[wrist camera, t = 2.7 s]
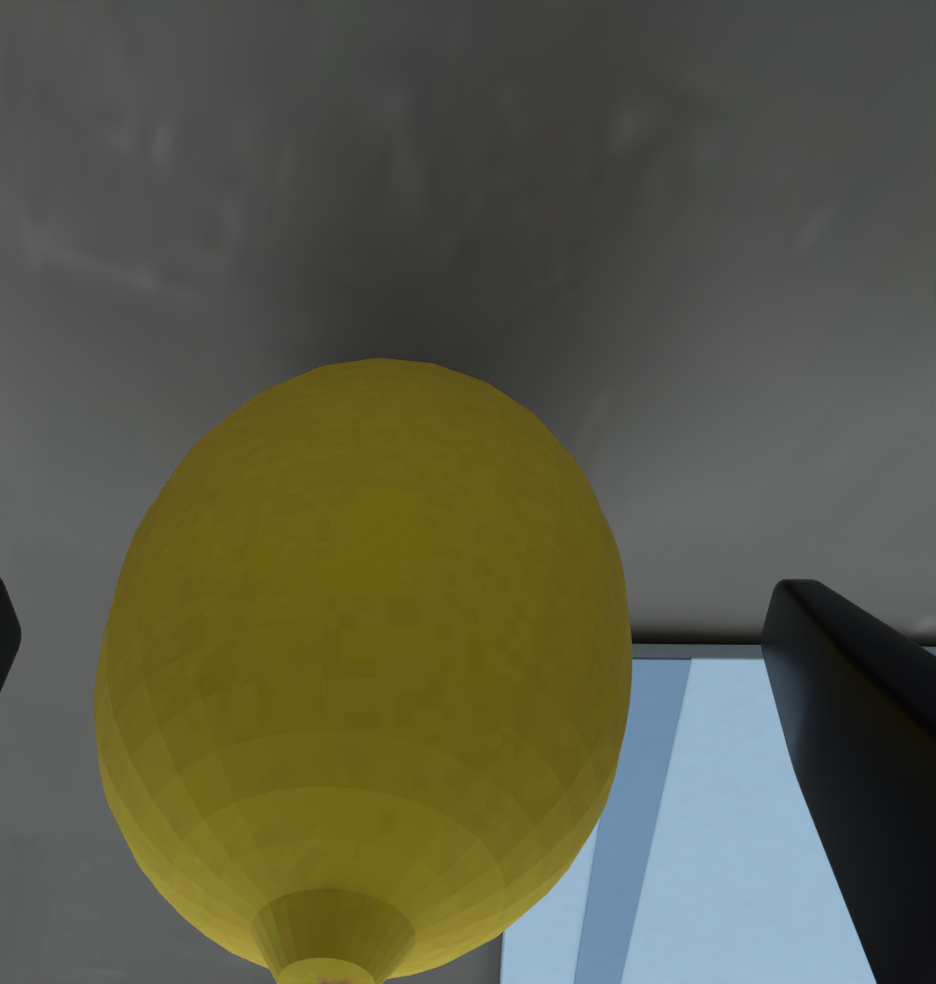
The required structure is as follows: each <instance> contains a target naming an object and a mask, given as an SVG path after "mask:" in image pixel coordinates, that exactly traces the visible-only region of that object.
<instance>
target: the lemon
mask: <svg viewBox="0 0 936 984" xmlns="http://www.w3.org/2000/svg"><path fill="white" fill-rule="evenodd" d="M631 684H632V639H631V629H630V620H629V612H628V604H627V596H626V589H625V581H624V574H623V569H622V564H621V559H620V554H619V551H618V548H617V545H616V542H615V539H614V536H613V533H612V531H611V529H610V527H609V525H608V523H607V520H606V518H605V516H604V514H603V512H602V510H601V508H600V506H599V503H598V501H597V499H596V497H595V495H594V493H593V491H592V489H591V486H590V484H589V482H588V480H587V478H586V476H585V474H584V472H583V470H582V469H581V468H580V466H579V465H578V463H577V462H576V461H575V459H574V458H573V457H572V456H571V454H570V453H569V452H568V451H567V450H566V449H565V448H564V446H563V445H562V444H561V443H560V442H559V441H558V440H557V438H556V437H555V436H554V435H553V434H552V433H551V432H550V431H549V429H548V428H547V427H546V426H545V425H544V424H543V423H542V421H541V420H540V419H539V418H538V417H537V416H536V415H534V414H533V413H532V412H531V411H530V410H528V409H527V408H525V407H524V406H522V405H521V404H519V403H518V402H516V401H515V400H513V399H512V398H510V397H509V396H507V395H506V394H504V393H502V392H501V391H499V390H498V389H496V388H495V387H493V386H492V385H490V384H489V383H487V382H485V381H482V380H479V379H476V378H474V377H471V376H468V375H465V374H462V373H459V372H457V371H454V370H451V369H448V368H445V367H442V366H440V365H437V364H434V363H424V362H415V361H406V360H397V359H388V358H372V359H365V360H358V361H351V362H343V363H336V364H329V365H323V366H321V367H318V368H316V369H313V370H311V371H308V372H306V373H303V374H301V375H298V376H296V377H294V378H291V379H289V380H286V381H284V382H281V383H279V384H276V385H274V386H272V387H270V388H267V389H265V390H263V391H261V392H260V393H259V394H257V395H256V396H254V397H253V398H252V399H250V400H249V401H248V402H246V403H245V404H244V405H243V406H241V407H240V408H239V409H237V410H236V411H235V412H234V413H232V414H231V415H230V416H228V417H227V418H226V419H224V420H223V421H222V422H221V423H219V424H218V425H217V426H215V427H214V428H213V429H211V430H210V431H209V432H208V433H206V434H205V435H204V436H203V437H202V438H201V439H200V440H199V441H198V442H197V443H196V444H195V445H194V446H193V447H192V448H191V450H190V451H189V452H188V454H187V455H186V456H185V458H184V459H183V460H182V462H181V463H180V464H179V466H178V467H177V469H176V470H175V472H174V473H173V474H172V476H171V477H170V479H169V480H168V482H167V483H166V485H165V486H164V488H163V489H162V491H161V492H160V493H159V495H158V496H157V498H156V499H155V501H154V502H153V504H152V505H151V507H150V508H149V509H148V511H147V513H146V515H145V517H144V518H143V520H142V522H141V524H140V525H139V527H138V529H137V531H136V533H135V535H134V538H133V540H132V542H131V545H130V547H129V549H128V552H127V554H126V557H125V560H124V564H123V567H122V570H121V573H120V576H119V579H118V583H117V587H116V590H115V594H114V598H113V602H112V606H111V609H110V613H109V617H108V621H107V625H106V628H105V632H104V637H103V641H102V646H101V650H100V654H99V659H98V666H97V673H96V681H95V688H94V720H95V733H96V742H97V751H98V760H99V768H100V773H101V778H102V782H103V787H104V791H105V796H106V800H107V803H108V805H109V807H110V809H111V811H112V813H113V815H114V817H115V819H116V821H117V823H118V825H119V827H120V829H121V832H122V834H123V836H124V837H125V839H126V841H127V843H128V845H129V847H130V849H131V851H132V853H133V855H134V857H135V859H136V861H137V863H138V865H139V867H140V868H141V869H142V871H143V872H144V873H145V874H146V876H147V877H148V878H149V880H150V881H151V882H152V883H153V885H154V886H155V887H156V889H157V890H158V891H159V892H160V893H161V894H162V895H163V896H164V897H165V899H166V900H167V901H168V902H169V903H170V904H171V905H172V906H173V907H174V908H175V909H176V910H177V911H178V912H179V913H180V914H181V915H182V916H183V917H184V918H185V919H186V920H187V921H189V922H190V923H191V924H192V925H193V926H195V927H196V928H197V929H198V930H199V931H201V932H202V933H203V934H204V935H206V936H207V937H209V938H210V939H212V940H213V941H215V942H216V943H218V944H219V945H221V946H222V947H224V948H225V949H227V950H228V951H230V952H231V953H233V954H235V955H238V956H240V957H242V958H245V959H247V960H249V961H252V962H254V963H256V964H259V965H261V966H263V967H266V968H269V969H270V971H271V973H272V975H273V977H274V978H275V980H276V982H277V984H383V982H384V981H385V980H386V979H389V978H395V977H402V976H409V975H413V974H416V973H419V972H423V971H426V970H429V969H432V968H436V967H439V966H442V965H444V964H446V963H448V962H450V961H452V960H454V959H456V958H458V957H459V956H461V955H463V954H465V953H467V952H469V951H471V950H473V949H475V948H477V947H479V946H480V945H482V944H484V943H486V942H488V941H490V940H492V939H494V938H496V937H497V936H498V935H500V934H501V933H502V932H503V931H505V930H506V929H507V928H508V927H510V926H511V925H512V924H513V923H514V922H516V921H517V920H518V919H519V918H520V917H522V916H523V915H524V914H525V913H526V912H527V911H528V910H530V909H531V908H532V907H533V906H534V905H535V904H536V903H538V902H539V901H540V900H541V899H542V898H543V897H544V896H546V895H547V894H548V893H549V892H550V891H551V889H552V888H553V887H554V886H555V885H556V883H557V882H558V881H559V880H560V879H561V878H562V876H563V875H564V874H565V873H566V872H567V870H568V869H569V868H570V866H571V865H572V863H573V862H574V860H575V858H576V857H577V855H578V854H579V852H580V850H581V849H582V847H583V846H584V844H585V843H586V841H587V839H588V838H589V836H590V835H591V833H592V831H593V829H594V827H595V825H596V823H597V821H598V820H599V818H600V816H601V814H602V812H603V810H604V808H605V806H606V804H607V800H608V797H609V794H610V791H611V787H612V784H613V781H614V778H615V774H616V770H617V765H618V761H619V756H620V752H621V748H622V743H623V739H624V734H625V729H626V723H627V717H628V711H629V705H630V697H631Z"/></svg>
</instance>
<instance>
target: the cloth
mask: <svg viewBox="0 0 936 984" xmlns="http://www.w3.org/2000/svg"><path fill="white" fill-rule="evenodd" d="M923 648H924V649H926V650H927V651H929V652H930V653H932V654H934V655H935V656H936V647H923ZM500 984H876V981H875V979H874V976H873V973H872V971H871V968H870V966H869V963H868V961H867V958H866V956H865V953H864V951H863V948H862V945H861V943H860V940H859V938H858V935H857V933H856V930H855V928H854V925H853V922H852V920H851V917H850V915H849V912H848V910H847V907H846V905H845V902H844V899H843V897H842V894H841V892H840V889H839V887H838V884H837V882H836V879H835V876H834V874H833V871H832V869H831V866H830V864H829V861H828V859H827V856H826V853H825V851H824V848H823V846H822V843H821V841H820V838H819V836H818V833H817V830H816V828H815V825H814V823H813V820H812V818H811V815H810V813H809V810H808V807H807V805H806V802H805V800H804V797H803V795H802V792H801V789H800V787H799V784H798V781H797V778H796V776H795V773H794V770H793V766H792V763H791V760H790V756H789V753H788V749H787V746H786V742H785V738H784V734H783V730H782V727H781V723H780V719H779V715H778V712H777V708H776V704H775V700H774V697H773V693H772V689H771V685H770V681H769V678H768V674H767V670H766V666H765V663H764V659H763V655H762V649H761V645H707V644H632V684H631V697H630V705H629V711H628V717H627V723H626V729H625V734H624V739H623V743H622V748H621V752H620V756H619V761H618V765H617V770H616V774H615V778H614V781H613V784H612V787H611V791H610V794H609V797H608V800H607V804H606V806H605V808H604V810H603V812H602V814H601V816H600V818H599V820H598V821H597V823H596V825H595V827H594V829H593V831H592V833H591V835H590V836H589V838H588V839H587V841H586V843H585V844H584V846H583V847H582V849H581V850H580V852H579V854H578V855H577V857H576V858H575V860H574V862H573V863H572V865H571V866H570V868H569V869H568V870H567V872H566V873H565V874H564V875H563V876H562V878H561V879H560V880H559V881H558V882H557V883H556V885H555V886H554V887H553V888H552V889H551V891H550V892H549V893H548V894H547V895H546V896H544V897H543V898H542V899H541V900H540V901H539V902H538V903H536V904H535V905H534V906H533V907H532V908H531V909H530V910H528V911H527V912H526V913H525V914H524V915H523V916H522V917H520V918H519V919H518V920H517V921H516V922H514V923H513V924H512V925H511V926H510V927H508V928H507V929H506V930H505V931H503V939H502V955H501V972H500Z"/></svg>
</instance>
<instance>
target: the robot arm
mask: <svg viewBox="0 0 936 984" xmlns="http://www.w3.org/2000/svg"><path fill="white" fill-rule="evenodd" d="M20 642H21V627H20V623H19V621H18V618H17V616H16V613H15V611H14V608H13V605H12V603H11V600H10V598H9V595H8V592H7V590H6V587H5V585H4V582H3V580H2V579H1V578H0V692H1V689H2V687H3V685H4V682H5V680H6V678H7V675H8V673H9V670H10V668H11V666H12V663H13V661H14V659H15V656H16V654H17V652H18V649H19V646H20ZM761 649H762V655H763V659H764V663H765V666H766V670H767V674H768V678H769V681H770V685H771V689H772V693H773V697H774V700H775V704H776V708H777V712H778V715H779V719H780V723H781V727H782V730H783V734H784V738H785V742H786V746H787V749H788V753H789V756H790V760H791V763H792V766H793V770H794V773H795V776H796V778H797V781H798V784H799V787H800V789H801V792H802V795H803V797H804V800H805V802H806V805H807V807H808V810H809V813H810V815H811V818H812V820H813V823H814V825H815V828H816V830H817V833H818V836H819V838H820V841H821V843H822V846H823V848H824V851H825V853H826V856H827V859H828V861H829V864H830V866H831V869H832V871H833V874H834V876H835V879H836V882H837V884H838V887H839V889H840V892H841V894H842V897H843V899H844V902H845V905H846V907H847V910H848V912H849V915H850V917H851V920H852V922H853V925H854V928H855V930H856V933H857V935H858V938H859V940H860V943H861V945H862V948H863V951H864V953H865V956H866V958H867V961H868V963H869V966H870V968H871V971H872V973H873V976H874V979H875V981H876V984H936V656H935V655H934V654H932V653H930V652H929V651H927V650H926V649H924V648H923V647H921V646H919V645H918V644H916V643H915V642H913V641H912V640H910V639H908V638H907V637H905V636H904V635H902V634H901V633H899V632H897V631H896V630H894V629H893V628H891V627H890V626H888V625H886V624H885V623H883V622H882V621H880V620H879V619H877V618H875V617H874V616H872V615H871V614H869V613H868V612H866V611H864V610H863V609H861V608H860V607H858V606H857V605H855V604H853V603H852V602H850V601H849V600H847V599H846V598H844V597H842V596H841V595H839V594H838V593H836V592H835V591H833V590H831V589H830V588H828V587H827V586H825V585H824V584H822V583H820V582H819V581H816V580H812V579H783V580H781V581H779V582H778V583H777V584H776V586H775V588H774V590H773V594H772V597H771V601H770V604H769V608H768V612H767V615H766V619H765V623H764V626H763V630H762V634H761Z"/></svg>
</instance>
